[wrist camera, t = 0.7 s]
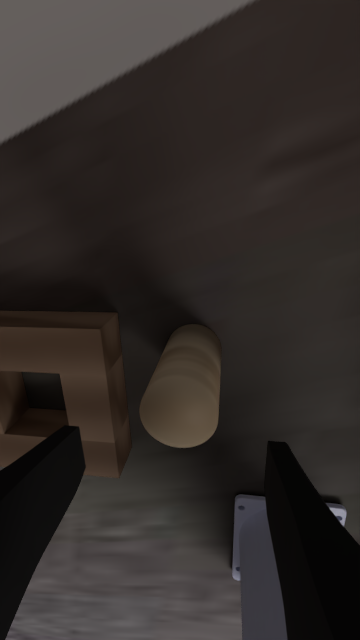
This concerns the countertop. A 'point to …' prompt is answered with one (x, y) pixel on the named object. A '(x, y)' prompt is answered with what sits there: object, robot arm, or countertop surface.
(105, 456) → the walnut socket block
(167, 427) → the beech peg
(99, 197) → the countertop surface
